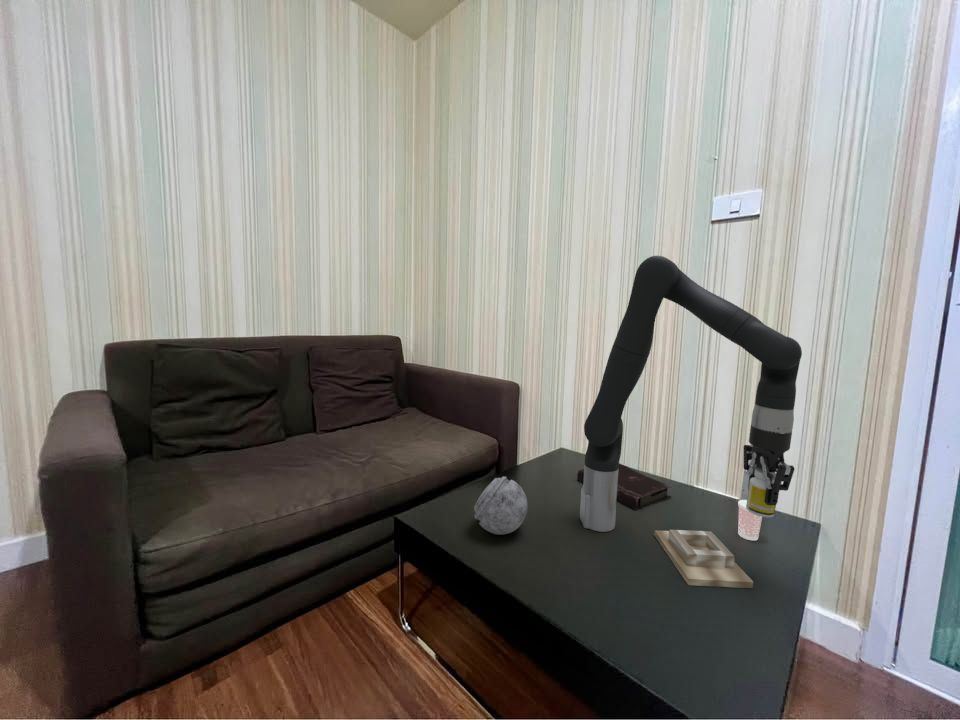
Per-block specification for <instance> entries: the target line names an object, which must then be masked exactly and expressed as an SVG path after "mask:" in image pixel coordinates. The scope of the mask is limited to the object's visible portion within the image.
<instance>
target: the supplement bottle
mask: <svg viewBox="0 0 960 720" xmlns="http://www.w3.org/2000/svg"><path fill="white" fill-rule="evenodd" d="M769 473H770V474H774V475H775V474H776V472H775V473H774V472H769ZM754 475H755V477H753V478H751V479H750V482H749V490H748V497H747V504H746V508H747V510H748V511H749V512H751V513H753V514H755V515H757V516H761V517H762V518H773V517H774V516H775V513H776V509H777V504H776V505H767V504H766V503H765V494H766V488H767V482H766V478H765V477H764V476H763V470H762V469H761V468H756V469H755V473H754ZM774 480H775V478H772V484H773V483H774Z"/></svg>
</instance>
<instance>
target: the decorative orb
mask: <svg viewBox="0 0 960 720" xmlns="http://www.w3.org/2000/svg"><path fill="white" fill-rule="evenodd" d="M473 509H474V515H473V517H474V518H475V520H478V521H479V523H478V524H479V525H480V526H481V528H483V530H485V531H487V532H489V533H491V534H493V535H498V536H499V535H501V536H502V535H507V534H511V533H512V532H513V533H514V532H515V531H516V530H518V529H519V528H520V526H521V525H522V524H523V523H524V521H525V519H526V516H527V514H528V499H527V496H526V493H525V491H524V490H523V488H522V486H521V485H519V484H518V483H517V482H516V481H515V480H513V479H510V480H509V479H508V477H507V476H502V477H495V478H494V479H493V480H492V481H491V482H490V483H489V484H488V485H487V486H486V487H485V488H484V490H483V491H482V493H481V494H480V495H479V497H478V499H477V500H476V503H475V504H474V506H473Z"/></svg>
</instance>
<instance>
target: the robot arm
mask: <svg viewBox="0 0 960 720" xmlns="http://www.w3.org/2000/svg"><path fill="white" fill-rule="evenodd" d="M664 299H666V300H669V301H671V302H672V303H675V304H676V305H679V306H681V307H682V308H684V309H686V310H687V311H688V312H690V313H691V314H693V315H694V316H695V317H696V318H697V319H699V320H700V321H701V322H702V323H704V324H705V325H706V326H708V327H709V328H710V329H713V331H715V332H716V333H718V334H720V335H721V336H723V337H724V338H726V339H727V340H729V341H731V342H732V343H734V344H736V345H738V346H739V347H741V348H743V350H745V351H746V352H747V353H748V354H750V355H751V356H752V357H754V358H755V359H756V360H758V361H759V362H761V365H760V377H759V381H758V383H757V387H756V393H755V400H754V401H755V402H754V405H753V410H752V414H751V422H750V429H749V436H748V437H749V438H748V442H749V444H744V445H743V471H744V470H747V471H748V475H749V482H750V479H751V478H753V477H755V475H754V473H755V469H756V468H761V469H762V470H763V476H764V477H765V478H766V482H767V488H766V494H765V503H766V504H767V505H776V506H777V505H778V500H779V495H780V494H779V493H780V491H786V492H787V491H789V488H790V485H791V481H792V479H793V475H794V472H795V467H794V465H790V464H787V463H786V462H785V457H784V454H785V453H786V452H788V451H790V449H791V442H792V436H793V428H794V422H795V421H794V420H795V419H794V416H795V414H794V413H795V412H794V411H795V404H796V396H797V395H796V394H797V383H796V382H797V379H798V373H799V368H800V363H801V359H802V353H803V352H802V350H803V349H802V347H801V345H800V343H799V342H798V341H797V340H796V339H794V338H792V337H789V336H787V335H784V334H782V333H780V332H779V331H778V330H775V329H774V328H772V327H770V326H768V325H766V324H764V322H762V321H761V320H760V319H759V318H757V317H756V316H755V315H753V314H751V313H750V312H748V311H746V310H745V309H743V308H741V307H740V306H738V305H736V304H734V303H732V302H731V301H729V300H727V299H725V298H722V297H721V296H719V295H717V294H715V293H713V292H711V291H710V290H708V289H706V288H704V287H703V286H701V285H699V284H698V283H697V282H696V281H694V280H692V279H691V278H690V277H689V276H688V275H687V274H686V273H685V272H683V271H682V270H681V269H680V268H679V267H678V265H677V264H676V263H675V262H674V261H672V260H671V259H669V258H667V257H665V256H663V255H652V256H650V257H647V258H645V259H644V260H643V261H642V262H641V264H639V266H638V267H637V269H636V272H635V275H634V279H633V282H632V288H631V292H630V296H629V300H628V303H627V304H628V305H627V307H626V311H625V313H624V315H623V317H622V320H621V323H620V325H619V329H618V330H617V333H616V336H615V340H614V341H613V344H612V346H611V348H610V353H609V356H608V359H607V363H606V366H605V369H604V371H603V376H602V380H601V384H600V387H599V391H598V393H597V396H596V399H595V401H594V402H593V405H592V407H591V409H590V411H589V414H588V415H587V417H586V419H585V421H584V426H583V431H584V432H583V433H584V435H585V438H586V439H587V441H588V443H587V444H588V445H587V447H586V452H585V454H584V465H583V466H584V468H583V469H584V483H582V485H583V486H581V489H580V503H579V504H580V507H579V508H580V509H579V519H580V522H581V523H582V527H583V529H589V530H592V531H595V532H599V533H601V532H602V533H605V532H611V531H613V530H614V529H615V526H616V515H617V502H618V501H617V486H618V471H619V463H620V461H621V457H622V446H623V445H622V444H623V436H624V435H623V434H624V423H623V419H622V416H623V412H624V410H625V406H626V404H627V401H628V400H629V397H630V396H631V394H632V392H633V391H634V389H635V387H636V385H637V384H638V381H639V380H640V378H641V375H642V373H643V371H644V369H645V367H646V364H647V361H648V358H649V356H650V354H651V350H652V346H653V340H654V332H655V324H656V323H655V322H656V318H657V315H658V312H659V310H660V307H661V305H662V302H663V300H664ZM769 472H774V473H776V474H775V475H774V474H770V473H769ZM772 478H775V480H774V483H773V484H772ZM782 482H783V483H782ZM748 490H749V483H748Z"/></svg>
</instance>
